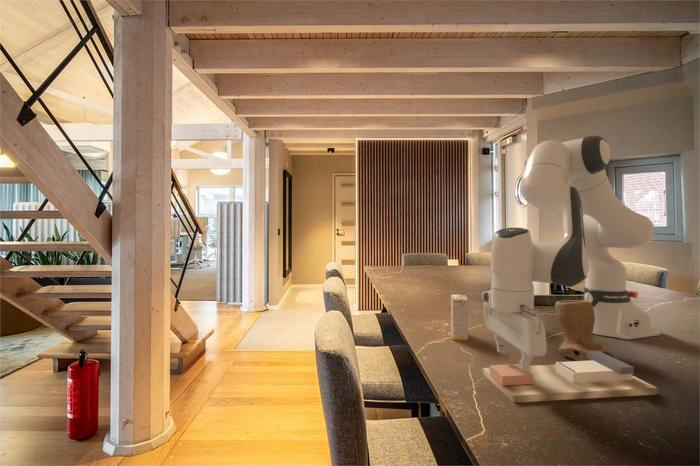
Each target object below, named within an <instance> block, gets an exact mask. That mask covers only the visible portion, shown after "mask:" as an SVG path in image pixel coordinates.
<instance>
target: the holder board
mask: <svg viewBox="0 0 700 466" xmlns="http://www.w3.org/2000/svg"><path fill="white" fill-rule="evenodd" d="M482 368H483V369H482V374H483V376H484V377H486V379H488V380H489V381H490V383H492V384H493V385H494V386H495V387H496V388H497V389H498V390H500V392H501V393H503V394H504V396H506V397H507V399H509V400H510V401H511V402H512V403H531V402H549V401H565V400H566V401H569V400H584V399H600V398H601V399H602V398H620V397H635V396H636V397H637V396H638V397H639V396H655V395H657V394H658V387H657V386H654V385H652V384H651V383H648V382H646V381H644V380H642V379H641V378H639V377H636V376H634V374H632V380H621V381H602V382H583V383H572V382H571V381H569V380H568V379H566V378H565V377H563V376H561V375H560V374H558V373H557V372H556V364H542V365H541V364H539V365H530V370H528V371H529V372H530V373H531V374H533V384H520V385H501V384H500V383H499V382H498V381H497V380H496V379H495V378H494V377H493V376H491V375H490V367H482Z"/></svg>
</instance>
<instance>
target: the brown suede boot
mask: <svg viewBox="0 0 700 466" xmlns="http://www.w3.org/2000/svg"><path fill="white" fill-rule="evenodd" d="M554 308H555V317H556V319H557V322H558V324H559V326H560V330H561V331H562V335H563V342H561V345H560V346H559V348H558V352H559V353H561V354H562V355H564V356H565V357H567V358H569V359H571V360H573V361H591V360H592V359H590V358H588V357H587V351H600V352H603V353H604V351H605V346H604V345H603V344H601V343H598V342H595V341H594V340H593V337H594V336H593V334H594V333H593V328H594V323H595V315H594V308H593V305H592V303H591V302H590V301H587V300H584V299H579V300H575V299H573V300H572V299H564V300H557V301H556V302H555V303H554Z"/></svg>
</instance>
